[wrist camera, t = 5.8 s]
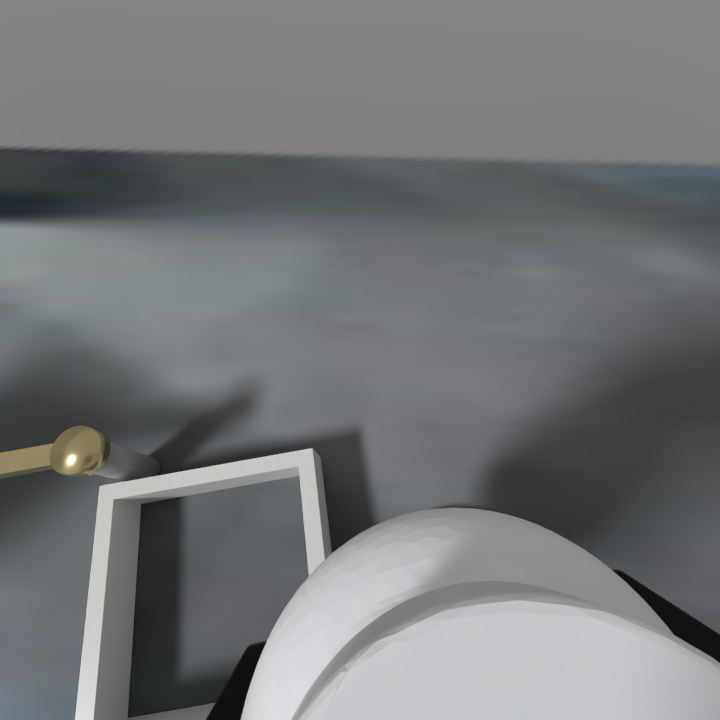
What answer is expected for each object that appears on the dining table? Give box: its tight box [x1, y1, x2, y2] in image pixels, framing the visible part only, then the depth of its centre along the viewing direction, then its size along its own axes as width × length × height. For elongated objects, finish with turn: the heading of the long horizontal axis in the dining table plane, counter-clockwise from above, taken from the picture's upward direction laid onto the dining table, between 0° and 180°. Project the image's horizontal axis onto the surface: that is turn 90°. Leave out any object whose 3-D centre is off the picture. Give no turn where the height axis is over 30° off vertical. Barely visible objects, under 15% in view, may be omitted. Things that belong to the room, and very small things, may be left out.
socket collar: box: [75, 442, 332, 720], centre depth 19 cm, size 13×11×5 cm
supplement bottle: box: [241, 508, 720, 720], centre depth 8 cm, size 7×7×13 cm
